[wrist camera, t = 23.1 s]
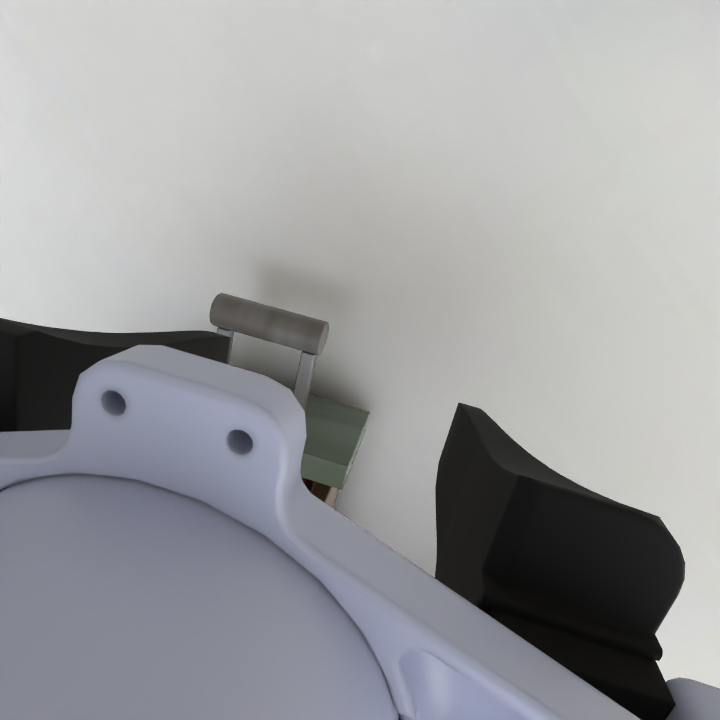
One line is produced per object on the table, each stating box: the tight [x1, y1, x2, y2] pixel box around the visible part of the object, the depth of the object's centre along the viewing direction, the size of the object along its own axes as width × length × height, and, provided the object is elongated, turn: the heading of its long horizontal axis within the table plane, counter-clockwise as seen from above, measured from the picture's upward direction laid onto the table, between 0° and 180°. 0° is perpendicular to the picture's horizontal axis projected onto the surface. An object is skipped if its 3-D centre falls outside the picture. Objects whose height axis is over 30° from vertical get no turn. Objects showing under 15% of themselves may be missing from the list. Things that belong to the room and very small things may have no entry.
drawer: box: [210, 293, 370, 508], centre depth 23 cm, size 17×10×6 cm, turn 167°
